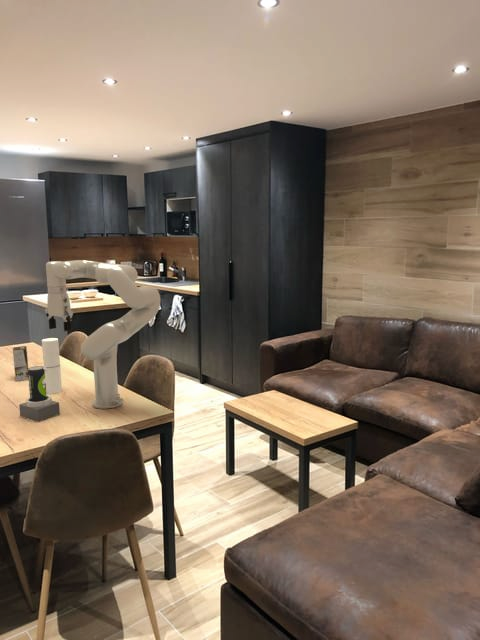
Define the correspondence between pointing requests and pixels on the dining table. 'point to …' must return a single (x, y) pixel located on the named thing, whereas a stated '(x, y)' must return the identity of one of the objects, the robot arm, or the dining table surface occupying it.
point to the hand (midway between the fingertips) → (60, 329)
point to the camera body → (39, 409)
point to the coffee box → (20, 363)
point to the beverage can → (37, 384)
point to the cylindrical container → (52, 365)
